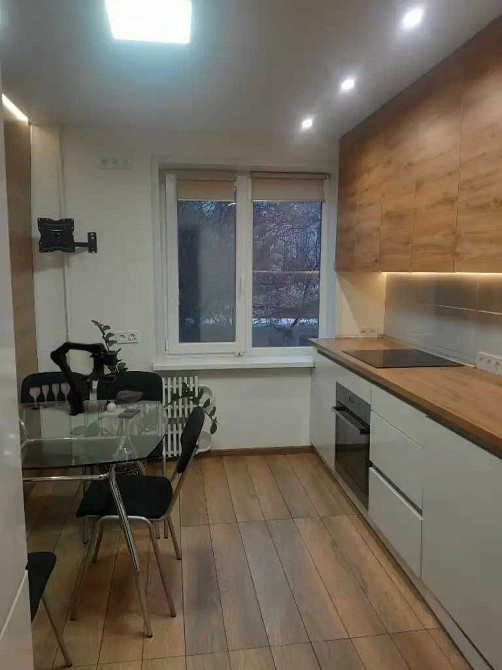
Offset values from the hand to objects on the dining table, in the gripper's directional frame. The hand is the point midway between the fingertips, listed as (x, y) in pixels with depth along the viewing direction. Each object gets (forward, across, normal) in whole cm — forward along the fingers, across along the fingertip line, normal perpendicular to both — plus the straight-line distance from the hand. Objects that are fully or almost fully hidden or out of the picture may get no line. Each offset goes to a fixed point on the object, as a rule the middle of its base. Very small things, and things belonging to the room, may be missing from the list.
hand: (99, 393), depth 277 cm
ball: (+8, +7, 0) cm, 10 cm away
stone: (+12, +10, +21) cm, 26 cm away
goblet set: (+12, -34, +15) cm, 39 cm away
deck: (+12, +12, 0) cm, 17 cm away
